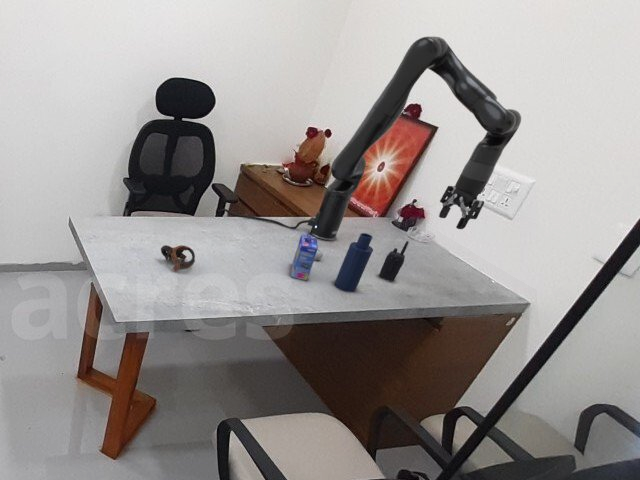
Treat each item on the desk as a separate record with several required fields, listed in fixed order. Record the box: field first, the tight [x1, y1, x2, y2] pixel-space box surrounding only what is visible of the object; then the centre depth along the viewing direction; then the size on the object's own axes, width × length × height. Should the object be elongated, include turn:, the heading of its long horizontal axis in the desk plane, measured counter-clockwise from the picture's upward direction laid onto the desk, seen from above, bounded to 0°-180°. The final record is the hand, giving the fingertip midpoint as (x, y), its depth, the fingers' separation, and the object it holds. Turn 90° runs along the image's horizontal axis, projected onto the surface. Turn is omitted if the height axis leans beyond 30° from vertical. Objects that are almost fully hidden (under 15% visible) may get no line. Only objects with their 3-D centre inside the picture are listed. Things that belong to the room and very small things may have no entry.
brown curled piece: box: [160, 244, 196, 272], centre depth 173 cm, size 12×10×8 cm
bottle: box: [334, 232, 374, 293], centre depth 168 cm, size 7×7×19 cm
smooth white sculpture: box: [314, 248, 324, 261], centre depth 189 cm, size 4×8×5 cm
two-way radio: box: [378, 240, 410, 282], centre depth 176 cm, size 6×4×15 cm
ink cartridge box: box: [290, 231, 319, 281], centre depth 174 cm, size 10×6×14 cm, turn 161°
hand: (450, 223), depth 170 cm, fingers open, 8 cm apart
